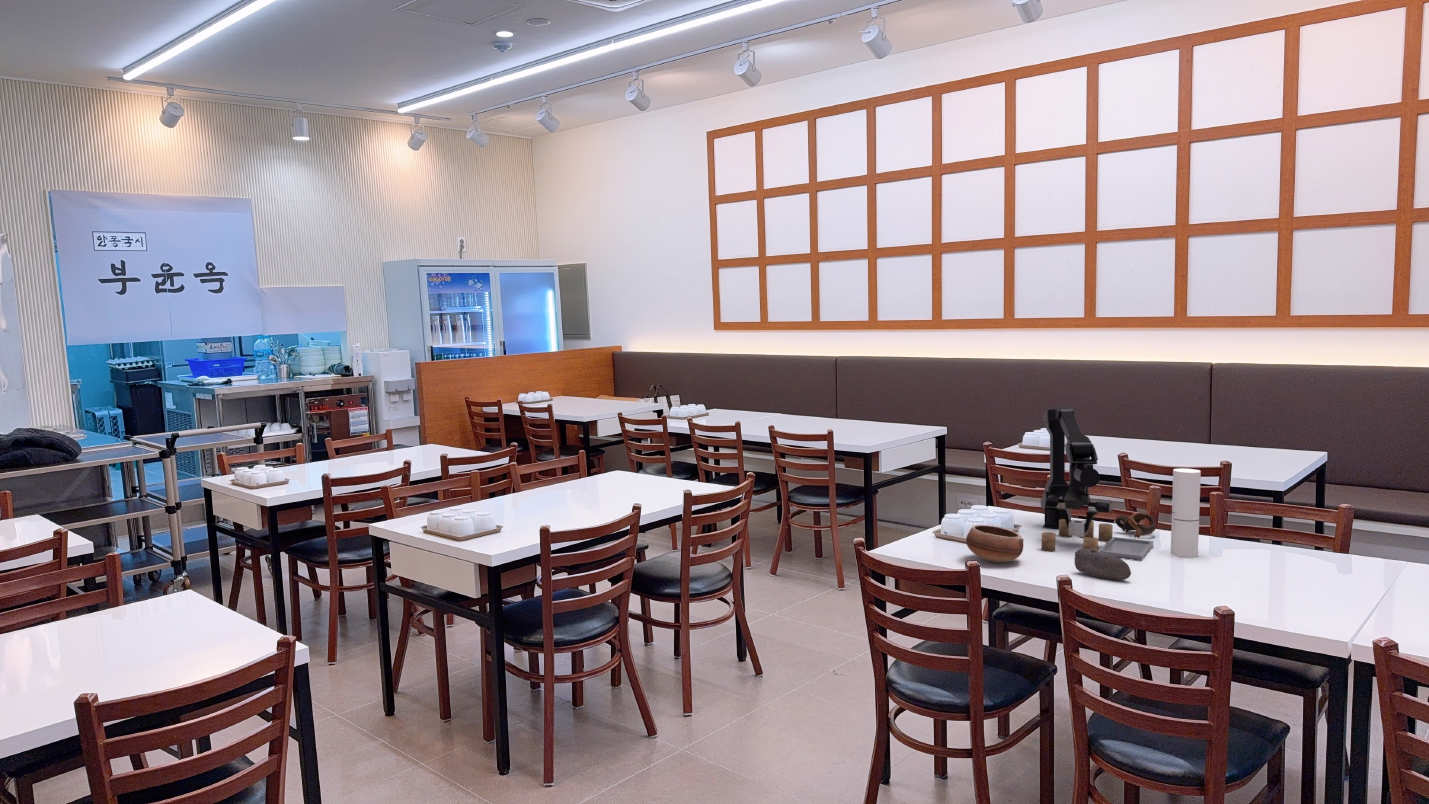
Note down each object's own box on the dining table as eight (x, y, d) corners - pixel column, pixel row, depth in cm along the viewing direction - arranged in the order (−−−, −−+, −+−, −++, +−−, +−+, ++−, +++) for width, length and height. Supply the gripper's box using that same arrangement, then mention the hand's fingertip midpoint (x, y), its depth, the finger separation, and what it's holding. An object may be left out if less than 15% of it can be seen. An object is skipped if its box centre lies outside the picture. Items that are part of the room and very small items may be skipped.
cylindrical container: (1191, 551, 275) (1194, 468, 272) (1202, 557, 268) (1204, 472, 265) (1166, 551, 276) (1169, 468, 273) (1176, 557, 268) (1178, 472, 266)
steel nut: (1068, 535, 284) (1068, 522, 283) (1072, 532, 287) (1072, 519, 287) (1083, 536, 281) (1084, 523, 281) (1087, 533, 285) (1087, 520, 284)
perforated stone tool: (1135, 581, 246) (1135, 555, 246) (1125, 585, 243) (1126, 559, 242) (1082, 570, 258) (1082, 545, 257) (1072, 573, 255) (1072, 548, 254)
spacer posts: (1039, 550, 279) (1040, 534, 278) (1062, 532, 301) (1062, 517, 300) (1095, 557, 270) (1096, 540, 269) (1114, 538, 292) (1115, 523, 291)
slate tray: (1098, 555, 272) (1098, 550, 272) (1112, 541, 288) (1112, 536, 288) (1141, 561, 265) (1141, 556, 265) (1153, 546, 282) (1153, 541, 281)
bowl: (1029, 568, 260) (1030, 533, 259) (973, 569, 261) (974, 534, 260) (1013, 553, 276) (1013, 521, 275) (960, 554, 276) (960, 521, 275)
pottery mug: (1152, 533, 300) (1159, 515, 295) (1148, 552, 293) (1156, 533, 288) (1113, 521, 304) (1120, 502, 299) (1109, 539, 297) (1116, 520, 292)
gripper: (1040, 482, 281) (1039, 532, 283) (1105, 488, 271) (1104, 540, 272) (1050, 476, 290) (1049, 525, 292) (1113, 482, 280) (1112, 532, 281)
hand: (1077, 531), depth 284 cm, fingers closed on steel nut, 4 cm apart
